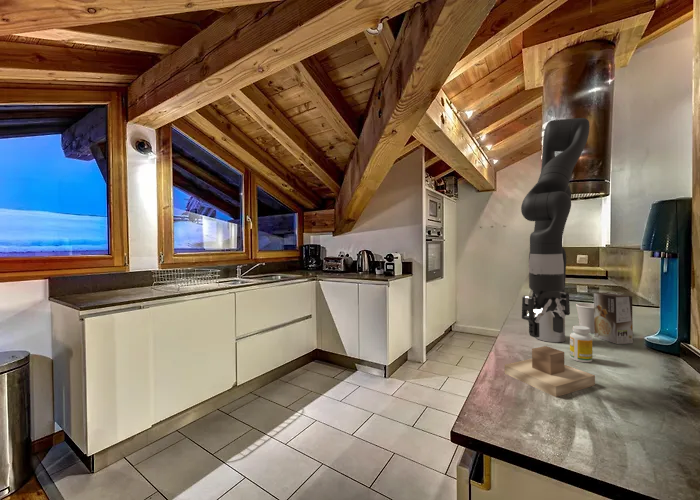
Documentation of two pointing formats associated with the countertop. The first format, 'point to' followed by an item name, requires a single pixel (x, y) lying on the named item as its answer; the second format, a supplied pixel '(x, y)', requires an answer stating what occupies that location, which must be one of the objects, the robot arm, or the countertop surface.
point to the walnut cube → (548, 360)
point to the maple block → (550, 378)
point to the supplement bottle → (581, 344)
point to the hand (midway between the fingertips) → (546, 334)
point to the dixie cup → (586, 315)
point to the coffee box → (613, 317)
